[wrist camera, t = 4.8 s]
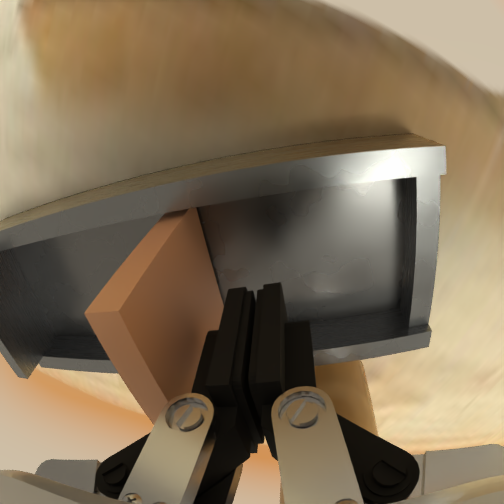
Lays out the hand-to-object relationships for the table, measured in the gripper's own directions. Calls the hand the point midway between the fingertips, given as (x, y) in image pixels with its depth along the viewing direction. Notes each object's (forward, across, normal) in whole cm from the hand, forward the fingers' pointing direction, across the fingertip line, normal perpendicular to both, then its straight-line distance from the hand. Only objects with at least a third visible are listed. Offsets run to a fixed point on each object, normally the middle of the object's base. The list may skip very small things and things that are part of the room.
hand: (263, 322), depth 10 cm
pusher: (+4, +3, 0) cm, 5 cm away
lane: (+5, +4, 0) cm, 6 cm away
